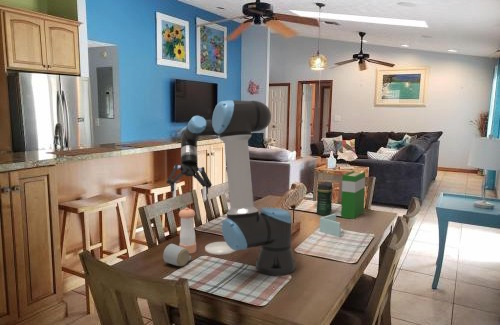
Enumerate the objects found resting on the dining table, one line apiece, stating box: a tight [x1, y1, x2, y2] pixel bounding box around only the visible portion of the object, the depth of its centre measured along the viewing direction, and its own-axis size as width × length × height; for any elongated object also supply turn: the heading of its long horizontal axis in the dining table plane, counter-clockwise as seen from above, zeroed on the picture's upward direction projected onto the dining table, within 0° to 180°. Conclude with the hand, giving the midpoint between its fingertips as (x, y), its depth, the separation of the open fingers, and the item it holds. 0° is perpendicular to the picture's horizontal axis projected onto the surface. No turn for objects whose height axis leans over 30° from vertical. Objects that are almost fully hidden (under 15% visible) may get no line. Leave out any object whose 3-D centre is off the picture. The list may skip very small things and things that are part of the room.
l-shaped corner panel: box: [318, 213, 345, 238], centre depth 193 cm, size 12×12×8 cm
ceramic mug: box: [162, 243, 192, 267], centre depth 155 cm, size 11×8×8 cm
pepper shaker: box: [178, 207, 197, 255], centre depth 167 cm, size 7×7×19 cm
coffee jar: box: [316, 181, 333, 217], centre depth 225 cm, size 10×8×19 cm
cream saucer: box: [204, 241, 237, 256], centre depth 170 cm, size 14×14×1 cm
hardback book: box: [340, 170, 366, 220], centre depth 223 cm, size 18×7×24 cm, turn 147°
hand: (189, 199), depth 169 cm, fingers open, 13 cm apart
